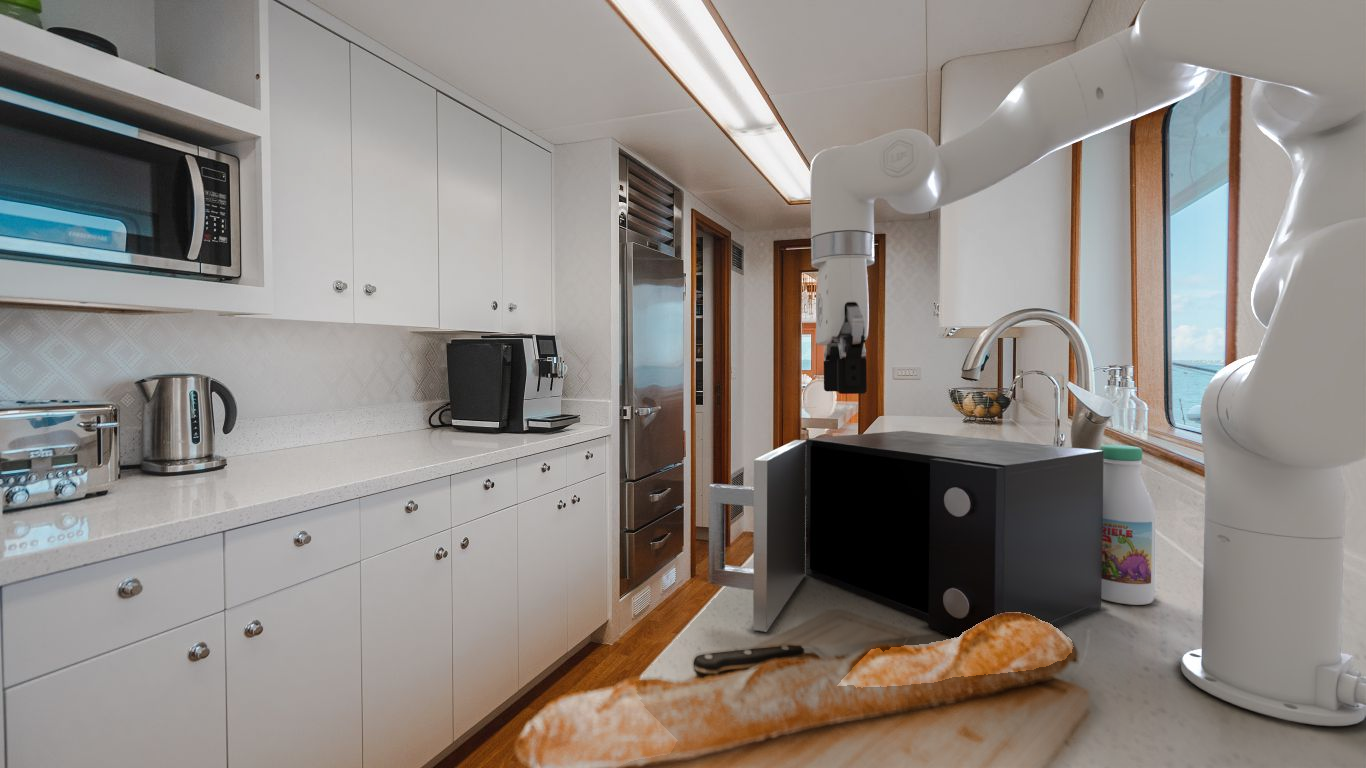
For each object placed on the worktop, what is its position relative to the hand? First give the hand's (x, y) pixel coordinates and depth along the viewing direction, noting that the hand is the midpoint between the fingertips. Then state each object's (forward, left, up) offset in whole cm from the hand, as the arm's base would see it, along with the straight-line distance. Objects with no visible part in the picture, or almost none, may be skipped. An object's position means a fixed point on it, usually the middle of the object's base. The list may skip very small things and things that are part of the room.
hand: (843, 392), depth 77 cm
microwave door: (+10, +5, -27) cm, 29 cm away
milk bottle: (-16, -35, -28) cm, 48 cm away
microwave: (-2, -16, -27) cm, 32 cm away
